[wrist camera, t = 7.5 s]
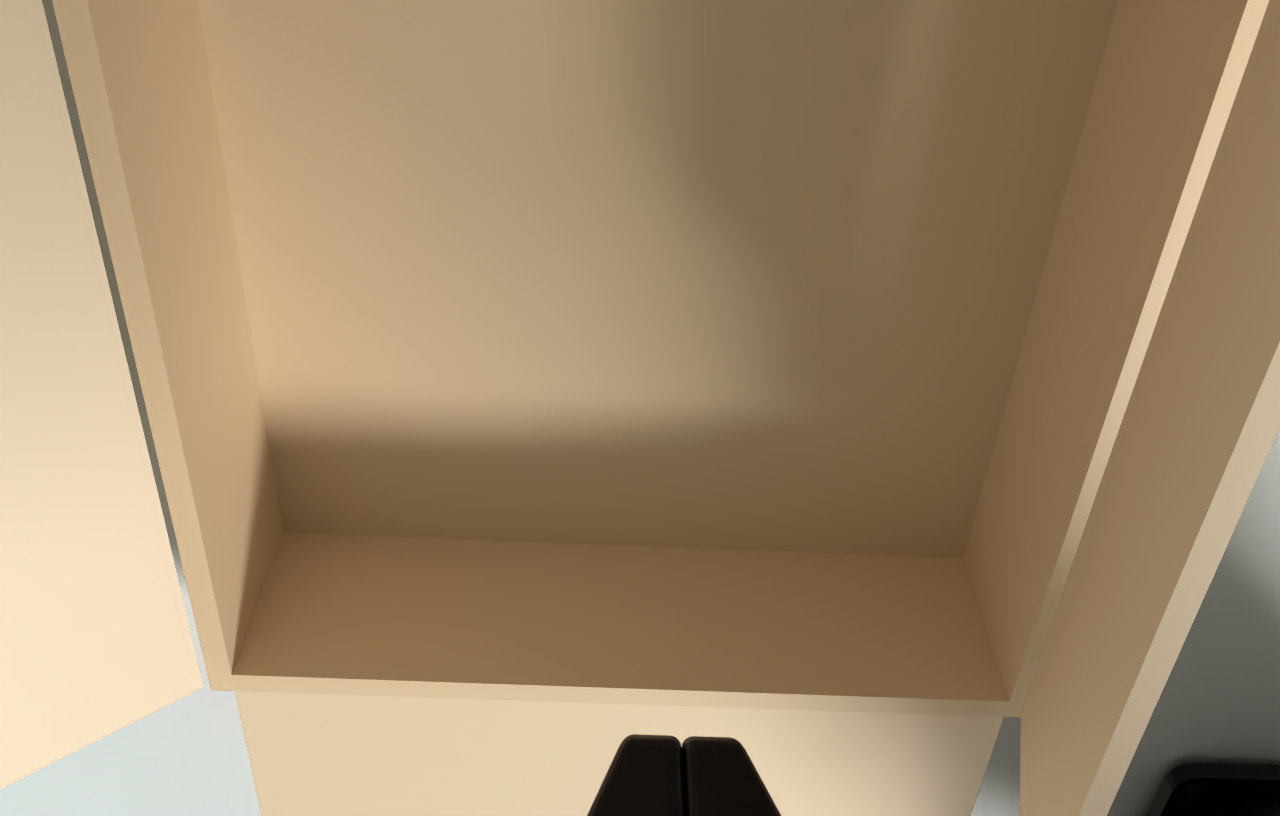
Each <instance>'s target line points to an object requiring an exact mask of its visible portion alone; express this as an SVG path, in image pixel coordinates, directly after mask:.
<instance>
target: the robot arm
mask: <svg viewBox="0 0 1280 816" xmlns="http://www.w3.org/2000/svg"><path fill="white" fill-rule="evenodd" d="M587 816H781V814H780V812H779V810H778V808H777V807H776V805H775V803H774V801H773V799H772V797H771V796H770V794H769V792H768V790H767V788H766V786H765V785H764V783H763V781H762V779H761V777H760V775H759V773H758V772H757V770H756V768H755V766H754V764H753V762H752V761H751V759H750V757H749V755H748V753H747V751H746V750H745V748H744V747H743V746H742V744H741V743H740V742H739V741H738V740H736V739H734V738H730V737H703V736H691V737H688V738H687V739H685V740H684V742H683V743H682V747H681V743H680V741H679V740H678V739H677V738H676V737H674V736H671V735H639V734H633V735H629V736H627V737H626V738H625V739H624V740H623V741H622V742H621V744H620V746H619V748H618V750H617V752H616V754H615V756H614V758H613V761H612V763H611V765H610V767H609V769H608V771H607V774H606V776H605V778H604V780H603V782H602V784H601V786H600V789H599V791H598V793H597V795H596V797H595V799H594V802H593V804H592V806H591V808H590V810H589V812H588V814H587ZM1147 816H1280V766H1266V765H1236V764H1206V763H1190V764H1184V765H1181V766H1178V767H1176V768H1174V769H1173V770H1171V771H1170V772H1169V773H1168V774H1167V776H1166V777H1165V779H1164V782H1163V784H1162V786H1161V788H1160V790H1159V792H1158V794H1157V796H1156V798H1155V800H1154V803H1153V805H1152V807H1151V809H1150V811H1149V813H1148V815H1147Z"/></svg>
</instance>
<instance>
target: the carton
mask: <svg viewBox="0 0 1280 816" xmlns="http://www.w3.org/2000/svg"><path fill="white" fill-rule="evenodd" d="M52 3H53V7H54V12H55V16H56V20H57V25H58V29H59V33H60V38H61V42H62V46H63V51H64V55H65V59H66V64H67V68H68V72H69V77H70V81H71V85H72V90H73V94H74V98H75V103H76V107H77V111H78V116H79V120H80V124H81V129H82V133H83V137H84V142H85V146H86V150H87V155H88V159H89V163H90V168H91V172H92V176H93V181H94V185H95V189H96V194H97V198H98V203H99V207H100V211H101V216H102V220H103V224H104V229H105V233H106V237H107V242H108V246H109V250H110V255H111V259H112V263H113V268H114V272H115V276H116V281H117V285H118V289H119V294H120V298H121V302H122V307H123V311H124V315H125V320H126V324H127V328H128V333H129V337H130V341H131V346H132V350H133V354H134V359H135V363H136V367H137V372H138V376H139V380H140V385H141V389H142V393H143V398H144V402H145V406H146V411H147V415H148V419H149V424H150V428H151V432H152V437H153V441H154V445H155V450H156V454H157V458H158V463H159V467H160V471H161V476H162V480H163V484H164V489H165V493H166V497H167V502H168V506H169V510H170V515H171V519H172V523H173V528H174V532H175V536H176V541H177V545H178V549H179V554H180V558H181V562H182V567H183V571H184V575H185V580H186V584H187V588H188V593H189V597H190V601H191V606H192V610H193V614H194V619H195V623H196V627H197V632H198V636H199V640H200V645H201V649H202V653H203V658H204V662H205V666H206V671H207V675H208V679H209V684H210V688H211V690H219V691H235V694H236V699H237V704H238V708H239V713H240V718H241V722H242V727H243V732H244V737H245V741H246V746H247V751H248V755H249V760H250V765H251V769H252V774H253V779H254V783H255V788H256V793H257V797H258V802H259V807H260V811H261V816H587V814H588V812H589V810H590V808H591V806H592V804H593V802H594V799H595V797H596V795H597V793H598V791H599V789H600V786H601V784H602V782H603V780H604V778H605V776H606V774H607V771H608V769H609V767H610V765H611V763H612V761H613V758H614V756H615V754H616V752H617V750H618V748H619V746H620V744H621V742H622V741H623V740H624V739H625V738H626V737H627V736H629V735H633V734H639V735H671V736H674V737H676V738H677V739H678V740H679V741H680V743H681V747H682V743H683V742H684V740H685V739H687V738H688V737H691V736H703V737H730V738H734V739H736V740H738V741H739V742H740V743H741V744H742V746H743V747H744V748H745V750H746V751H747V753H748V755H749V757H750V759H751V761H752V762H753V764H754V766H755V768H756V770H757V772H758V773H759V775H760V777H761V779H762V781H763V783H764V785H765V786H766V788H767V790H768V792H769V794H770V796H771V797H772V799H773V801H774V803H775V805H776V807H777V808H778V810H779V812H780V814H781V816H971V813H972V810H973V807H974V804H975V801H976V798H977V795H978V792H979V789H980V786H981V784H982V781H983V778H984V775H985V772H986V769H987V766H988V763H989V760H990V757H991V754H992V751H993V748H994V745H995V742H996V739H997V736H998V734H999V731H1000V728H1001V725H1002V722H1003V719H1004V717H1014V718H1020V712H1021V708H1022V705H1023V702H1024V699H1025V696H1026V694H1027V691H1028V688H1029V685H1030V682H1031V679H1032V677H1033V674H1034V671H1035V668H1036V665H1037V662H1038V659H1039V657H1040V654H1041V651H1042V648H1043V645H1044V642H1045V639H1046V637H1047V634H1048V631H1049V628H1050V625H1051V622H1052V619H1053V617H1054V614H1055V611H1056V608H1057V605H1058V602H1059V599H1060V597H1061V594H1062V591H1063V588H1064V585H1065V582H1066V579H1067V577H1068V574H1069V571H1070V568H1071V565H1072V562H1073V559H1074V557H1075V554H1076V551H1077V548H1078V545H1079V542H1080V539H1081V537H1082V534H1083V531H1084V528H1085V525H1086V522H1087V519H1088V517H1089V514H1090V511H1091V508H1092V505H1093V502H1094V499H1095V497H1096V494H1097V491H1098V488H1099V485H1100V482H1101V479H1102V477H1103V474H1104V471H1105V468H1106V465H1107V462H1108V459H1109V457H1110V454H1111V451H1112V448H1113V445H1114V442H1115V440H1116V437H1117V434H1118V431H1119V428H1120V425H1121V422H1122V420H1123V417H1124V414H1125V411H1126V408H1127V405H1128V402H1129V400H1130V397H1131V394H1132V391H1133V388H1134V385H1135V382H1136V380H1137V377H1138V374H1139V371H1140V368H1141V365H1142V362H1143V360H1144V357H1145V354H1146V351H1147V348H1148V345H1149V342H1150V340H1151V337H1152V334H1153V331H1154V328H1155V325H1156V322H1157V320H1158V317H1159V314H1160V311H1161V308H1162V305H1163V302H1164V300H1165V297H1166V294H1167V291H1168V288H1169V285H1170V282H1171V280H1172V277H1173V274H1174V271H1175V268H1176V265H1177V262H1178V260H1179V257H1180V254H1181V251H1182V248H1183V245H1184V242H1185V240H1186V237H1187V234H1188V231H1189V228H1190V225H1191V222H1192V220H1193V217H1194V214H1195V211H1196V208H1197V205H1198V203H1199V200H1200V197H1201V194H1202V191H1203V188H1204V185H1205V183H1206V180H1207V177H1208V174H1209V171H1210V168H1211V165H1212V163H1213V160H1214V157H1215V154H1216V151H1217V148H1218V145H1219V143H1220V140H1221V137H1222V134H1223V131H1224V128H1225V125H1226V123H1227V120H1228V117H1229V114H1230V111H1231V108H1232V105H1233V103H1234V100H1235V97H1236V94H1237V91H1238V88H1239V85H1240V83H1241V80H1242V77H1243V74H1244V71H1245V68H1246V65H1247V63H1248V60H1249V57H1250V54H1251V51H1252V48H1253V45H1254V43H1255V40H1256V37H1257V34H1258V31H1259V28H1260V25H1261V23H1262V20H1263V17H1264V14H1265V11H1266V8H1267V5H1268V3H1269V0H52Z"/></svg>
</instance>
